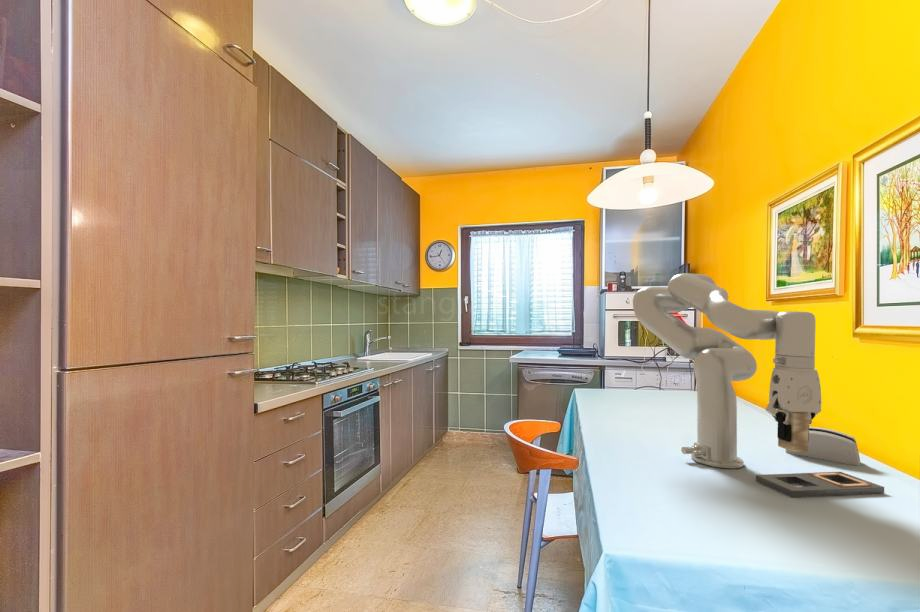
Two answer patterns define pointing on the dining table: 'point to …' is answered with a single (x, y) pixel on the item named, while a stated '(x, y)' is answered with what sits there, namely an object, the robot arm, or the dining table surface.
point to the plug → (797, 433)
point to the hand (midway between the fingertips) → (792, 439)
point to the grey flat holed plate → (819, 484)
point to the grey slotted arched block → (831, 446)
